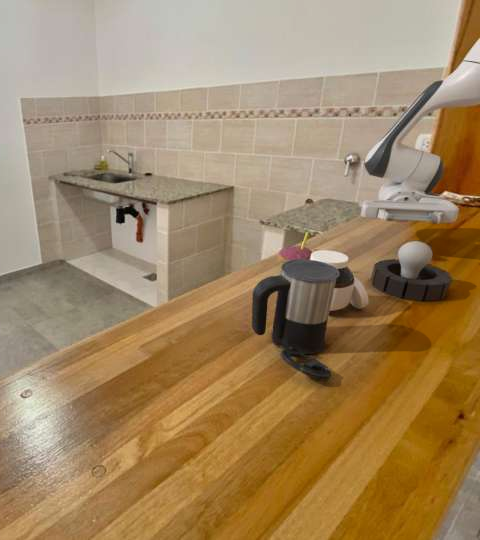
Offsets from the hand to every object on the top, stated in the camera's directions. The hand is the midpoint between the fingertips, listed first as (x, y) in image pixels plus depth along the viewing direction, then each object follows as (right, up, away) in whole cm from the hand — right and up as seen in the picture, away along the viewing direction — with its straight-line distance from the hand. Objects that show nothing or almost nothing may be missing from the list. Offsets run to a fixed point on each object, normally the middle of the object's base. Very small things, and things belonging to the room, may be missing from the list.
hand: (412, 219), depth 93 cm
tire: (-5, -16, -5) cm, 18 cm away
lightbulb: (-5, -16, -5) cm, 18 cm away
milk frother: (-39, -28, -25) cm, 54 cm away
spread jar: (-26, -20, -10) cm, 34 cm away
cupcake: (-27, -13, +5) cm, 30 cm away
